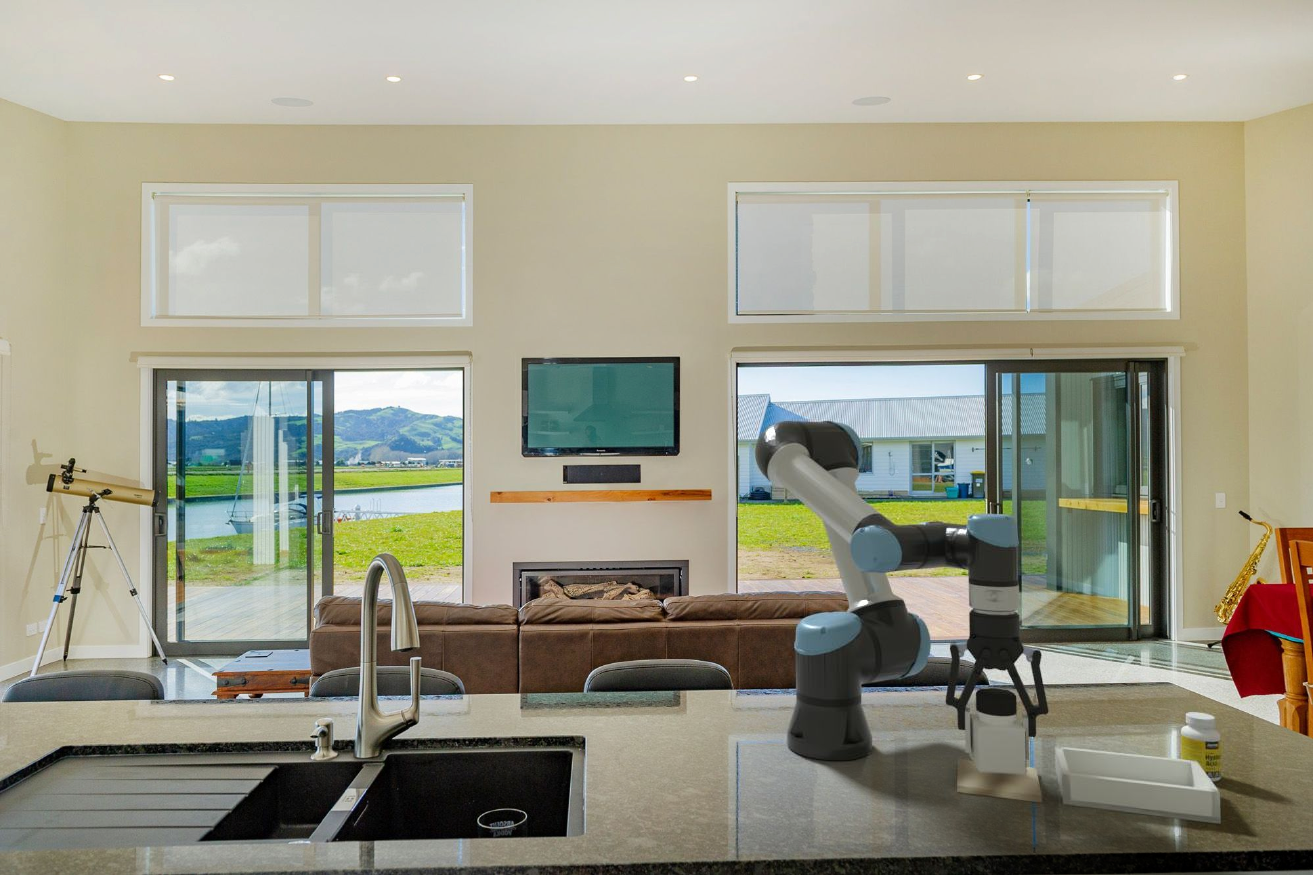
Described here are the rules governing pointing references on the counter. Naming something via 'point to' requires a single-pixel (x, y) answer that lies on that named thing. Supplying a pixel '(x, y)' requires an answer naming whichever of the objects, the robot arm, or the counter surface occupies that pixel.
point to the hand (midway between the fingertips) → (996, 753)
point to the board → (998, 783)
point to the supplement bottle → (1202, 743)
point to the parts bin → (1136, 784)
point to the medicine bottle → (997, 733)
